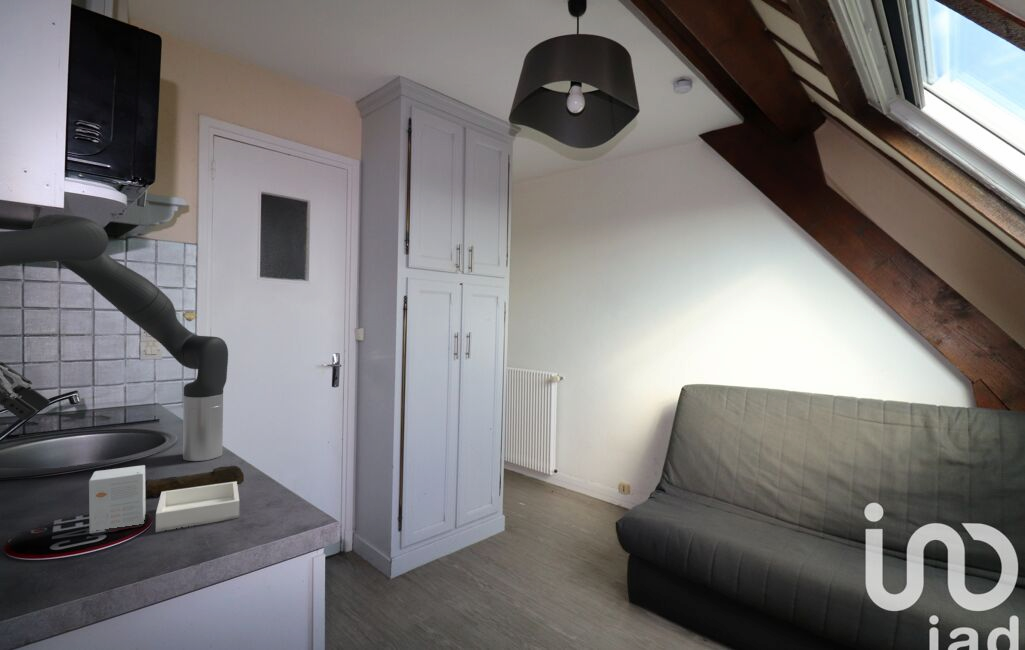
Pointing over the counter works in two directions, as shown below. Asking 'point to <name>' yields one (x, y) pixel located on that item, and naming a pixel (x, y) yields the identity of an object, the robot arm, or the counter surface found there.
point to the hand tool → (194, 480)
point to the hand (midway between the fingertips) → (38, 411)
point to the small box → (117, 498)
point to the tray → (197, 506)
